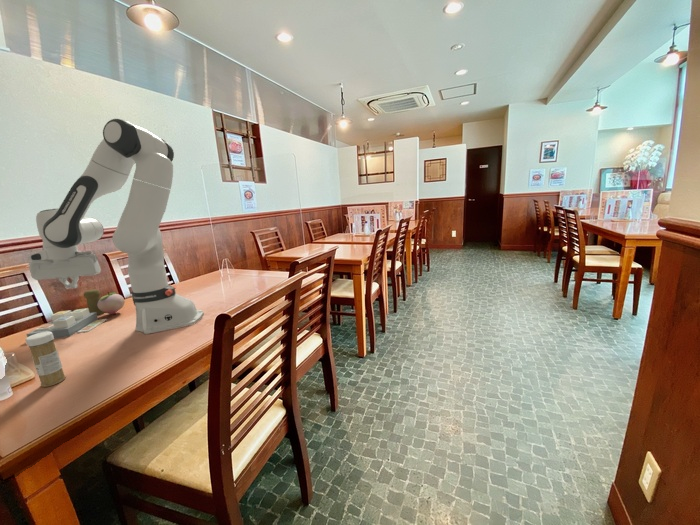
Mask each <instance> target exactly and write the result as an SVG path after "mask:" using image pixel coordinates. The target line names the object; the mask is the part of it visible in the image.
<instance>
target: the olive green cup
mask: <svg viewBox="0 0 700 525" xmlns="http://www.w3.org/2000/svg"><path fill="white" fill-rule="evenodd" d="M100 295H101V291H100V290H99V289H95V288H94V289H89V290H85V291H84V292H83V297H84V298H85V299H86V307H87V308H88V309H89V313H94V312H96V313H97V316H98V317H99V316H102V315H104V312H102V311H101V310H100V309H99V308H98V306H97V304H98V301H99V300H100V299H101V297H100Z"/></svg>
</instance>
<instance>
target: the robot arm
mask: <svg viewBox="0 0 700 525" xmlns="http://www.w3.org/2000/svg"><path fill="white" fill-rule="evenodd" d="M102 136H103V139H102V140H101V142H99V143H98V144H97V147H96V149H95V151H94V152H93V154H92V156H91V158H90V161H89V163H88V164H87V167H86V168H85V169H84V171H83V173H82V174H81V175H80V176H79V177H78V178H77V179H76V181H75V182H74V183H73V184H72V186H71V187H70V189H69V191H68V192H67V193H66V196H65V198H64V199H63V201H62V203H61V204H60V205H59V207H58V208H52V209H51V208H50V209H49V208H48V209H44V210H40V211H39V212H38V213H37V214H36V216H35V217H36V218H35V221H36V228H37V231H38V235H39V236H40V238H41V240H42V249H43V250H40V251H38V252H34V253H31V254H29V255H27V260H28V261H29V262H30V263H29V266H28V268H29V274H30V276H31V278H32V279H33V280H35V281H41V280H51V279H58V280H59V282H60V283H61V284H63V286H64V288H65V290H70V289H71V290H72V289H77V288H78V282H79V279H80V277H86V276H95V275H98V274H100V273H101V272H102V269H101V265H100V263H99V261H98V257H97V256H98V255H97V254H96V253H95V252H92V251H90V250H87V251H79V247H78V245H84V244H88V243H92V242H95V241H98V240H100V239H101V238H102V237H103V236H104V233H105V232H104V231H105V230H104V226H103V224H102V222H100V221H99V220H98V219H96V218H94V217H90V216H85V215H86V213H87V212H88V210H89V208H90V206H91V204H93V202H94V201H95V200H97V199H98V198H100V197H102V196H106V195H108V194H110V193H114V192H117V191H119V190H121V189H122V188H123V187H124V185H125V184H126V182H127V181H128V179H129V176H130V174H131V172H132V168H133V166H134V164H135V170H134V173H133V177H132V180H131V181H132V182H131V185H130V190H129V194H128V198H127V201H126V203H125V206H124V209H123V211H122V213H121V216H120V218H119V220H118V224H117V226H116V229H114V230H115V231H114V232H113V234H112V243H113V245H114V247H115V248H116V249H117V250H119V251H120V252H121V253H123V254H124V253H125V254H127V255H128V258H127V259H128V260H127V261H128V266H127V273H128V277H129V278H128V279H129V282H130V283H129V284H130V287H131V292H130V294H131V297H132V302H133V305H134V307H135V315H136V316H135V317H136V319H135V330H136V331H137V332H141V333H143V334H144V335H148V334H153V333H154V334H155V333H159V332H163V331H168V330H172V329H179V328H183V327H187V326H188V325H189V326H192V325H194V324H196V323H198V322H200V320H201V319H202V318H203V317H204V315H203V314H204V310H203V309H197V306H196V304H195V303H194V301H193V300H192V299H189V298H187V297H184V296H182V295H180V294H178V293H177V292H176V289H177V286H176V285H174V286H172V285H170V284H169V282H168V277H167V271H166V267H165V256H164V255H165V254H164V246H163V245H164V244H163V238H162V237H163V236H162V232H161V229H160V228H159V227H160V225H161V222H162V220H163V217H164V214H165V212H166V209H167V206H168V201H169V197H170V193H171V190H172V186H173V177H174V164H173V160H174V158H175V152H174V149H173V147H172V145H170V143H169V142H167V141H166V140H164V139H162V138H159V137H158V136H157V135H156V134H153V133H152V132H150V131H148V130H147V129H145V128H143V127H140V126H139V125H136V124H133V123H131V122H130V121H128V120H125V119H120V118H112V119H109V120H108V121H107V122H106V124H105V125H104V127H103V130H102ZM68 278H70V280H71V283H70V282H69V281H68ZM202 316H203V317H202ZM197 321H198V322H197ZM189 326H188V327H189Z"/></svg>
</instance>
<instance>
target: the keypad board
mask: <svg viewBox="0 0 700 525" xmlns="http://www.w3.org/2000/svg"><path fill="white" fill-rule="evenodd" d="M96 320H99V316H97V313H96V312H94V313H90V315H89V316H87V317H85V318H83V319H75V321H76V323H75V324H73V325H71V326H70V327H66V328H58V329H55V327H53V328H51V329H49V330H42V331H35V329H34V330H32V331H30V332H28V333H26V338H27V337H29V336H31V335H34V334H37V333H41V332H47V331H49V332H52V334H53V336H54V338H55V339H62V338H69V337H72V336H73V335H75V334H77V332H78V331H80V330H81V329H83V328H84V327H86V326H88V325H89V324H91V323H92V322H94V321H96ZM47 324H53V321H50V322H47V323H45V324H44V325H47ZM61 337H62V338H61Z"/></svg>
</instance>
